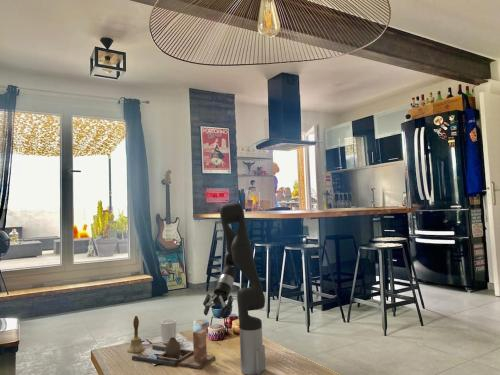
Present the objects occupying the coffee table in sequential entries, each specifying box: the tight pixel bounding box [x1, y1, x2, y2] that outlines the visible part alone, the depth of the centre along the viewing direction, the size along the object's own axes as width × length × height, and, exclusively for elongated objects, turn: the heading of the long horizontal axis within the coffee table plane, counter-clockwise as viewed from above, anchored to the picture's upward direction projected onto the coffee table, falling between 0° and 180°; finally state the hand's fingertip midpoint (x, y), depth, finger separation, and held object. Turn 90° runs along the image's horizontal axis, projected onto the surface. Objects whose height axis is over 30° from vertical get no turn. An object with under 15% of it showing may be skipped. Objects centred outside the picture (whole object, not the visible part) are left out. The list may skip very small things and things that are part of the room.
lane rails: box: [131, 344, 177, 368], centre depth 173 cm, size 24×15×2 cm, turn 64°
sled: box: [156, 329, 216, 370], centre depth 168 cm, size 23×12×13 cm, turn 64°
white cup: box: [160, 319, 177, 345], centre depth 195 cm, size 8×8×10 cm
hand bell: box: [127, 315, 146, 354], centre depth 185 cm, size 8×8×16 cm
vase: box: [164, 337, 182, 359], centre depth 172 cm, size 7×7×9 cm
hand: (213, 315), depth 176 cm, fingers open, 8 cm apart
